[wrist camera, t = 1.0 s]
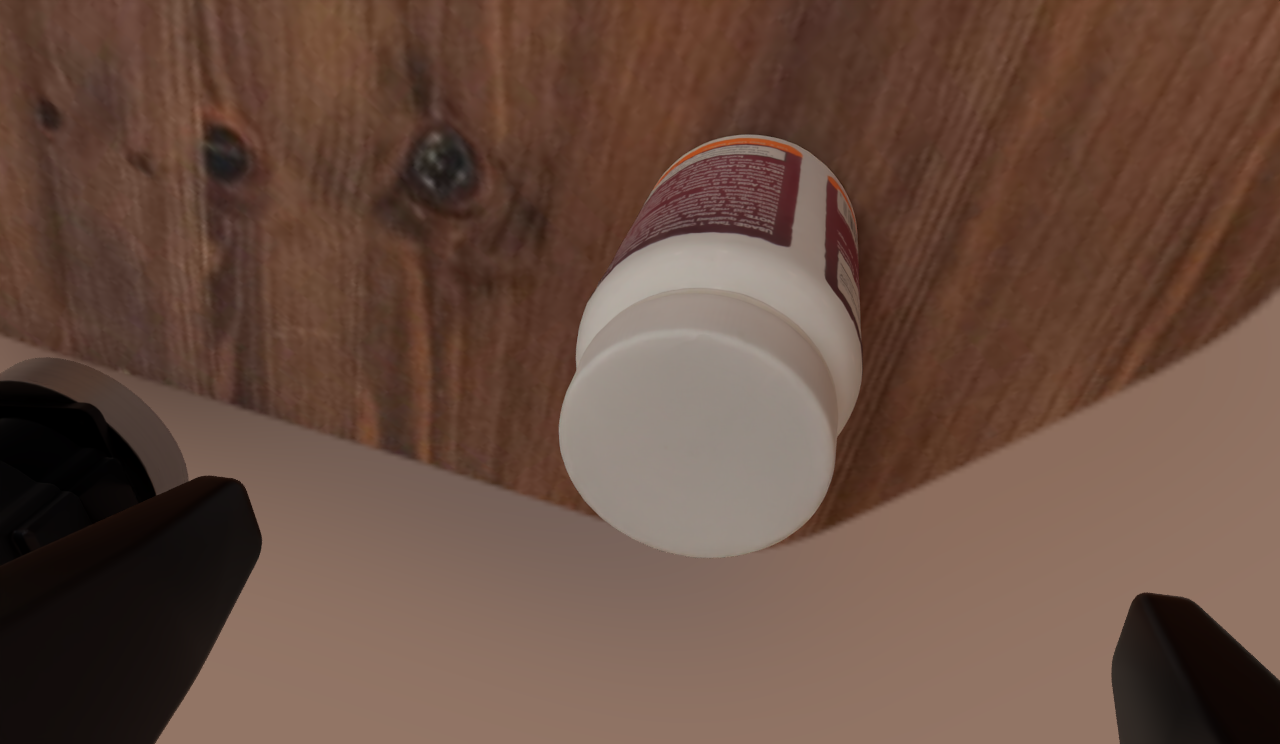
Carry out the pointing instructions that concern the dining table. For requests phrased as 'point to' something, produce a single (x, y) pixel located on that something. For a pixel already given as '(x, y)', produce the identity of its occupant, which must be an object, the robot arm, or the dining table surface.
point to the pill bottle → (720, 353)
